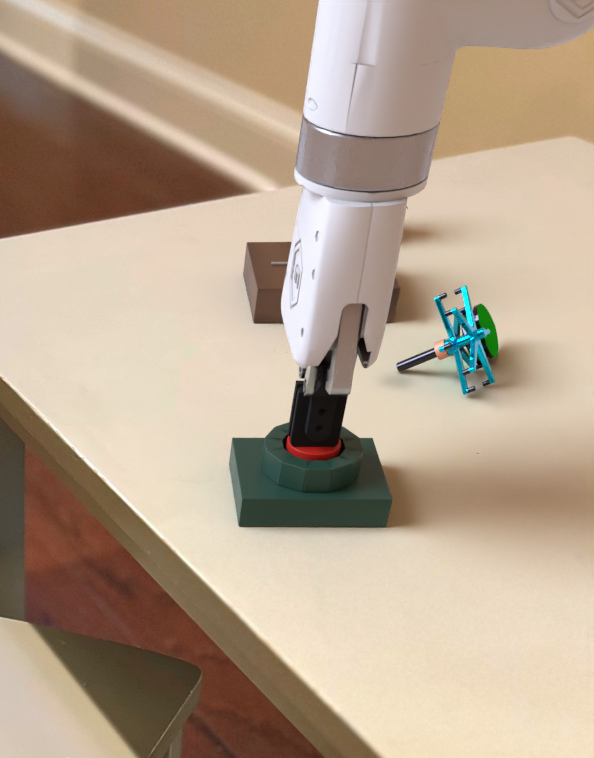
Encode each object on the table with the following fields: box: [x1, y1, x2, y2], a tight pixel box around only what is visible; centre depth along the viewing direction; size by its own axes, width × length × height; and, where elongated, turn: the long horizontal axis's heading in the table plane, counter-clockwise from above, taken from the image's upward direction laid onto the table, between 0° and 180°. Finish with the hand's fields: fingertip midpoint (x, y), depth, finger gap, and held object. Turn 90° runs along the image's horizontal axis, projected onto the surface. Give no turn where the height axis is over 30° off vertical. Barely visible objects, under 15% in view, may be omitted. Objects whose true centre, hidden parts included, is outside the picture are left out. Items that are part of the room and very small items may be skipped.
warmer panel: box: [242, 241, 402, 324], centre depth 104 cm, size 12×10×3 cm
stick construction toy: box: [395, 284, 499, 396], centre depth 94 cm, size 12×7×8 cm
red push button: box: [286, 436, 341, 461], centre depth 81 cm, size 4×4×2 cm
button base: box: [228, 421, 393, 528], centre depth 82 cm, size 10×8×4 cm
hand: (312, 440), depth 80 cm, fingers closed
